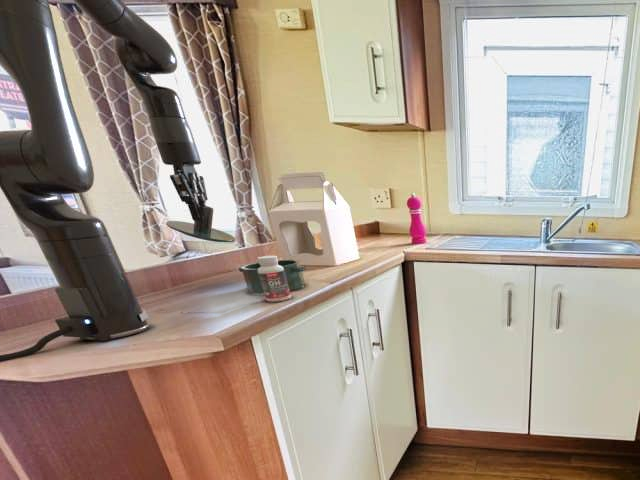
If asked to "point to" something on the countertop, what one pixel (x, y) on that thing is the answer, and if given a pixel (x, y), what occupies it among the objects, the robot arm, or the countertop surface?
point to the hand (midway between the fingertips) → (201, 219)
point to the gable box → (328, 213)
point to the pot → (290, 269)
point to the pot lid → (202, 228)
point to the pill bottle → (273, 279)
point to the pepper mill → (416, 221)
